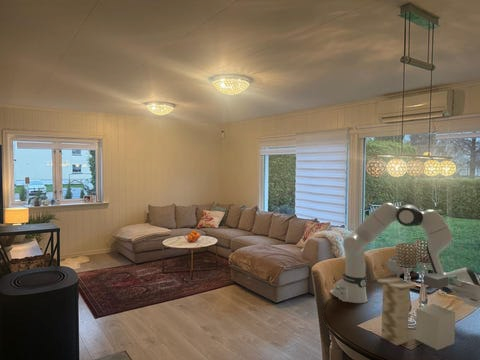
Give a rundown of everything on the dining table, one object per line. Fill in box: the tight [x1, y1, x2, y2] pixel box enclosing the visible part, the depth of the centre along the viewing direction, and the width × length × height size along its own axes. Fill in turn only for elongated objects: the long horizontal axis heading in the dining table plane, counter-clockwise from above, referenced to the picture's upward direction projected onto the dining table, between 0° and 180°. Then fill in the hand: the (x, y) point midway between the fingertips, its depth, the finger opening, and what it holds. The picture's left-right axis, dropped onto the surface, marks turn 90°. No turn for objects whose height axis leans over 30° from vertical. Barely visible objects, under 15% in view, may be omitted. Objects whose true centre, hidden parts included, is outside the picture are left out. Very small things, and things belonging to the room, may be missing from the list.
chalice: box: [387, 257, 404, 280], centre depth 226 cm, size 14×14×15 cm
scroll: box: [400, 270, 421, 280], centre depth 237 cm, size 15×15×20 cm
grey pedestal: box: [415, 303, 456, 351], centre depth 146 cm, size 10×12×14 cm
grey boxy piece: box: [422, 273, 457, 289], centre depth 147 cm, size 6×18×4 cm, turn 117°
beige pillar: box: [377, 276, 417, 346], centre depth 147 cm, size 12×10×26 cm
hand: (448, 278), depth 149 cm, fingers closed on grey boxy piece, 3 cm apart
